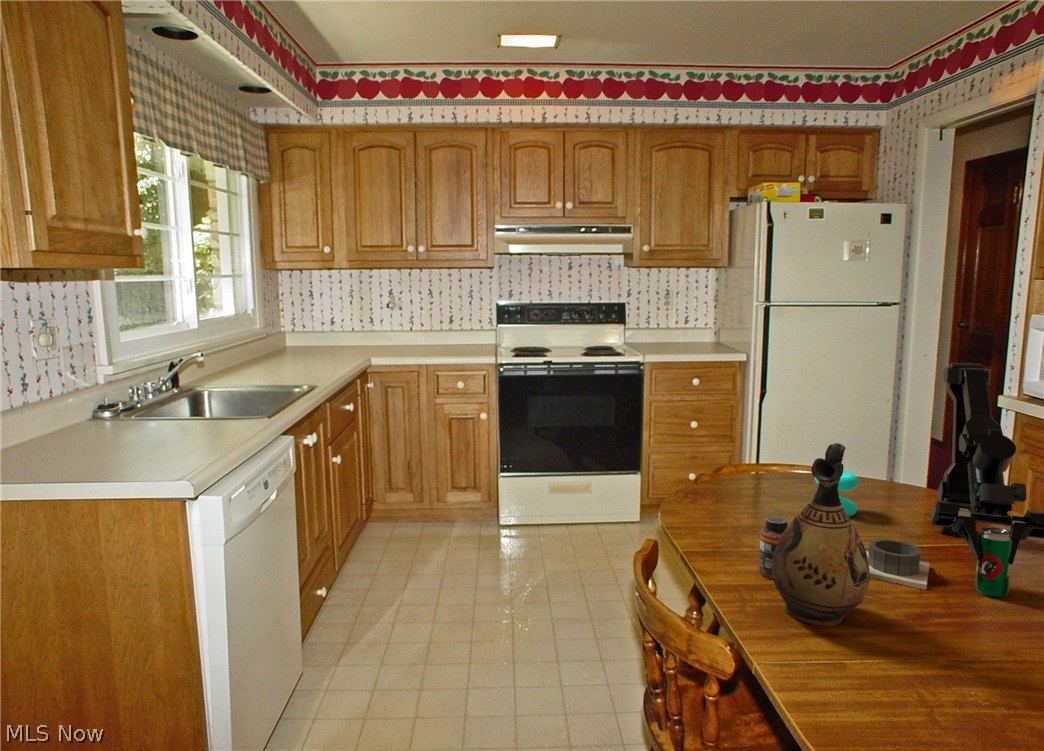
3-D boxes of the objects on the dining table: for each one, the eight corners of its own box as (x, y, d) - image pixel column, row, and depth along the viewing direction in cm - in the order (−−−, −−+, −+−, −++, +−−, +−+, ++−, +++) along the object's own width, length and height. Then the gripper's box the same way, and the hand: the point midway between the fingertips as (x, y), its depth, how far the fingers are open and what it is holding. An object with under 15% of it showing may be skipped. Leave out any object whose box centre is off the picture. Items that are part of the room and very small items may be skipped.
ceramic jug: (861, 646, 106) (874, 463, 102) (761, 621, 114) (768, 450, 110) (871, 603, 121) (882, 440, 117) (781, 583, 129) (788, 431, 125)
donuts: (811, 475, 166) (818, 466, 174) (809, 514, 167) (816, 503, 176) (856, 481, 161) (861, 471, 169) (853, 521, 162) (858, 510, 170)
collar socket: (863, 554, 142) (864, 532, 142) (929, 567, 136) (931, 543, 135) (855, 575, 132) (857, 550, 132) (926, 589, 126) (928, 564, 125)
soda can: (1013, 600, 121) (1018, 536, 120) (982, 598, 122) (986, 535, 121) (1000, 588, 126) (1004, 526, 125) (970, 586, 127) (974, 525, 126)
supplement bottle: (790, 570, 135) (792, 516, 133) (791, 582, 129) (794, 526, 128) (758, 566, 137) (761, 513, 135) (758, 578, 131) (761, 522, 130)
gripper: (938, 460, 129) (942, 535, 120) (1058, 470, 121) (1072, 551, 113) (929, 488, 137) (932, 560, 128) (1041, 499, 129) (1052, 576, 121)
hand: (994, 561), depth 122 cm, fingers closed on soda can, 5 cm apart
